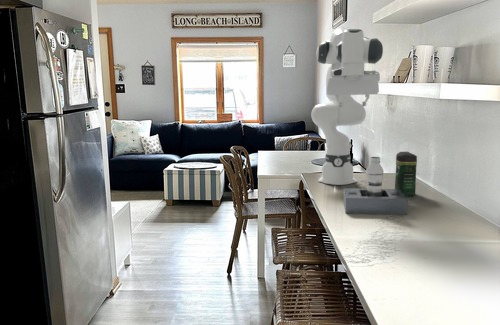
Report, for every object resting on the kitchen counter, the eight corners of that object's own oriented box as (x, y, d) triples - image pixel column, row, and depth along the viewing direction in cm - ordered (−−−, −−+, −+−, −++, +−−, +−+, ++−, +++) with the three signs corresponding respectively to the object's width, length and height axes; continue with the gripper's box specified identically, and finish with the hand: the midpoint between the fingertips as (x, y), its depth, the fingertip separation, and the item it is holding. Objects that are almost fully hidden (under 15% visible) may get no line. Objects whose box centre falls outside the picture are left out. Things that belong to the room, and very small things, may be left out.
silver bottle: (376, 211, 160) (378, 159, 157) (361, 208, 166) (362, 157, 162) (386, 208, 164) (387, 157, 161) (371, 204, 170) (372, 155, 166)
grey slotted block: (343, 202, 174) (343, 187, 173) (399, 203, 170) (399, 188, 169) (345, 213, 159) (345, 197, 158) (406, 214, 156) (407, 198, 155)
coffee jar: (417, 196, 179) (419, 153, 176) (398, 197, 180) (400, 154, 177) (410, 191, 189) (412, 150, 186) (392, 191, 190) (394, 150, 186)
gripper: (378, 70, 169) (377, 105, 171) (326, 72, 172) (326, 106, 175) (380, 70, 163) (379, 106, 165) (326, 71, 166) (326, 107, 168)
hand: (352, 106), depth 170 cm, fingers open, 8 cm apart
